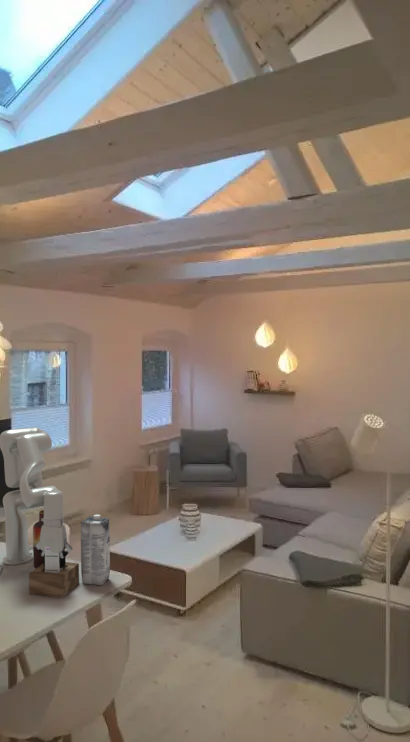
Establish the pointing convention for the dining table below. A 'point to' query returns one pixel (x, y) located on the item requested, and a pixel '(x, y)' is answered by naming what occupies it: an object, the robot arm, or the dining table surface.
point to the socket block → (54, 580)
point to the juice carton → (95, 550)
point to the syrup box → (52, 561)
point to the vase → (37, 541)
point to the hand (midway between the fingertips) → (54, 565)
